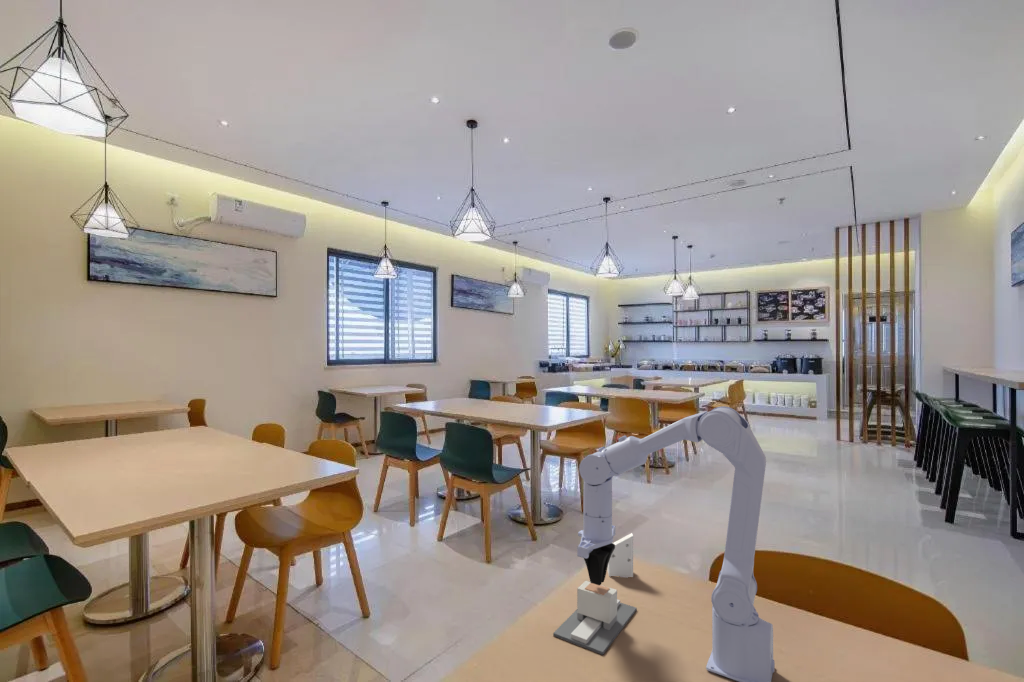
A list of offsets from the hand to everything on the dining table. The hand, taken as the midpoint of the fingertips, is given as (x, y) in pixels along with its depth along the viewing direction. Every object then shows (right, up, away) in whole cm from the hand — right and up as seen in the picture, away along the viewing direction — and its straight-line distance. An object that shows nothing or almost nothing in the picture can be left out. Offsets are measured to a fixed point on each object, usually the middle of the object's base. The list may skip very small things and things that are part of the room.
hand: (597, 582), depth 93 cm
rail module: (0, -7, 0) cm, 7 cm away
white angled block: (+9, -9, +21) cm, 25 cm away
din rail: (0, -8, 0) cm, 8 cm away
